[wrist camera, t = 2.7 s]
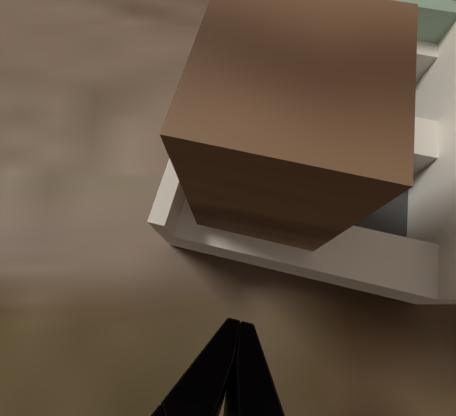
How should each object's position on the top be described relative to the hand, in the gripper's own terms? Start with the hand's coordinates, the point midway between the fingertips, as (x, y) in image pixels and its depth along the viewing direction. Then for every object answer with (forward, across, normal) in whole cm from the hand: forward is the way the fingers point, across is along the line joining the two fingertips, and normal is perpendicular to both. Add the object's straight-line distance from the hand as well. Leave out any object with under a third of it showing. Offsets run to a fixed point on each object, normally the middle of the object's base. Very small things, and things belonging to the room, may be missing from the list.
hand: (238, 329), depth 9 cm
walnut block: (+8, 0, -2) cm, 8 cm away
